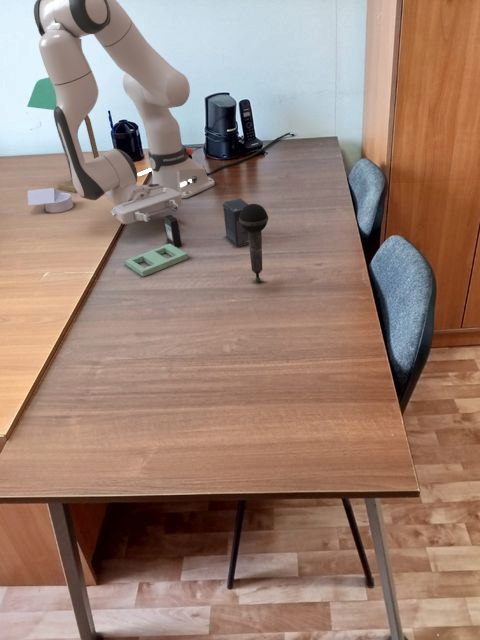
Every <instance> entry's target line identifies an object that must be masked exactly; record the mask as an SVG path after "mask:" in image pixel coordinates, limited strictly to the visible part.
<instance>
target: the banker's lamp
mask: <svg viewBox="0 0 480 640" xmlns="http://www.w3.org/2000/svg"><path fill="white" fill-rule="evenodd" d="M56 104H57V100H56V93H55V89H54V87H53V84H52V82H51V80H50V78H49V76H48V77H44V78H41V79H38V80H37V81H36V82H35V85H34V86H33V89H32V92H31V95H30V97H29V100H28V102H27V106H26V108H27V107H28V108H32V109H33V108H35V109H42V110H51V111H54V110H55V108H56ZM83 121H84V123H85V127H86V131H87V135H88V139H89V144H90V147H91V152H92V156H93V159H95V158H97V157H99V156H100V155H99V151H98V146H97V142H96V138H95V134H94V131H93V130H94V129H93V126H92V125H93V124H92V122H91V118H90V116H89V114H88V115H87V116H86V117H85V119H84V120H83ZM57 185H58V188H59V190H63V191H66V192H67V191H68V192H73V193H78V192H77V191H76V189H75V187H74V185H73V182H72V179H70V180H69V181H66V182H64V183H58V184H57Z"/></svg>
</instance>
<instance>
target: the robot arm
mask: <svg viewBox="0 0 480 640" xmlns="http://www.w3.org/2000/svg"><path fill="white" fill-rule="evenodd" d="M33 18H34V21H35V25H36V27H37V29H38V34H39V35H40V39H39V41H38V49H39V53H40V56H41V60H42V63H43V66H44V68H45V70H46V71H45V72H46V74H47V76H48V77H49V78H50V80H51V82H52V84H53V87H54V89H55V93H56V100H57V104H56V108H55V110H53V118H54V123H55V127H56V130H57V134H58V137H59V140H60V142H61V146H62V149H63V152H64V155H65V159H66V162H67V165H68V169H69V173H70V178H71V180H72V182H73V185H74V187H75V189H76V191H77V192H76V193H77V194H78V195H79V196H80V197H81V198H82V199H85V200H89V201H97V200H99V199H100V198H101V197H103V196H105V198H106V199H107V200H108V201H109V202H110V203H111V204H113V205H114V207H113V208H111V209H110V210H109V213H110V216H113V217H115V218H116V220H117V221H118V222H119V223H120V224H123V225H129V224H132V223H135V222H138V221H140V222H141V221H142V222H146V223H147V222H150V221H152V218H151V217H152V216H155V215H157V214H160V213H164V212H166V211H169V210H171V212H173V213H175V212H179V211H180V208H179V207H181V206H182V204H183V199H188V198H190V197H192V196H194V195H196V194H198V193H201V192H203V191H205V190H207V189H209V188H211V187H214V186H216V183H215V180H214V179H213V178H211V177H209V176H210V175H213V174H215V173H216V172H217V171H219V170H222V169H224V168H228V167H231V166H233V165H236V164H239V163H242V162H244V161H246V160H248V159H251V158H253V157H255V156H257V155H258V154H260V153H262V152H263V151H264V150H266V149H267V148H269V147H270V146H271V145H273V144H275V142H277V141H279V140H280V139H281V140H282V139H283V138H285V137H287V136H292V137H295V134H294V133H293V134H290V133H291V132H287V133H285V134H283V135H280V136H278V137H276V138H275V139H274V140H272V141H271V142H269V143H268V144H266V145H265V146H264V147H262V148H261V149H259V150H258V151H256V152H254V153H251V154H250V155H248V156H246V157H244V158H240V159H239V160H236V161H233V162H230V163H227V164H224V165H220V166H218V167H216V168H215V169H214V170H212V171H210V172H207V170H206V168H205V166H204V165H202V164H200V163H199V162H197V161H196V160H194V159H192V158H191V157H189V155H190V156H192V155H193V154H194V149H193V148H190V147H187V148H186V147H184V146H183V143H182V136H181V128H180V124H179V122H178V120H177V119H176V118H175V117H174V116H173V114H172V112H171V110H170V109H172V108H178V107H182V106H183V105H185V104H186V103H187V101H188V100H189V97H190V93H191V92H190V91H191V88H190V86H191V85H190V82H189V80H188V78H187V76H186V75H185V74H184V73H182V72H181V71H179V70H177V68H175V67H174V66H172V65H171V64H170V63H169V62H168V61H167V60H166V59H165V58H164V57H162V55H161V54H160V53H158V52H157V51H156V50H155V48H154V47H152V45H151V44H150V43H149V42H148V41H147V40H146V38H145V36H143V34H142V33H141V31H140V29H138V27H137V26H136V24H135V23H134V21H133V20H132V18H131V17H130V16H129V14H128V13H127V12H126V10H125V9H124V7H123V6H122V5H121V4H120V3H119V2H118V1H117V0H36V1H35V3H34V6H33ZM88 35H93V36H94V38H95V39H96V40H97V42H98V43H99V44H100V45H101V47H102V48H103V50H105V52H106V53H107V55H108V56H109V57H110V58H111V60H112V61H113V62H114V63H115V65H116V66H117V67H118V68H119V69H120V70H121V71H122V72H124V74H123V76H122V88H123V90H124V92H125V94H126V95H127V96H128V97H129V99H130V100H131V101H132V103H133V105H134V106H135V108H136V110H137V113H138V115H139V117H140V119H141V121H142V124H143V127H144V132H145V136H146V137H145V138H146V142H147V147H148V151H147V155H148V161H149V166H150V167H149V168H148V169H145V170H143V171H140V172H138V171H137V167H136V164H135V163H134V160H133V158H131V156H130V155H128V154H127V153H126V152H125V151H123V150H121V149H119V148H115V147H113V148H111V149H109V150H108V151H105V152H104V153H102V154H100V155H99V157H97V158H95V159H94V158H93V159H91V160H90V161H87V162H86V160H85V156H84V153H83V150H82V146H81V144H80V141H79V130H80V127H81V125H82V123H83V121H85V120H84V119H85V117H86V116H87V115H88V116H89V114H90V113H91V112H92V111H93V109H94V108H95V106H96V104H97V101H98V98H99V86H98V83H97V79H96V77H95V75H94V73H93V70H92V68H91V65H90V64H89V62H88V59H87V57H86V56H85V53H84V52H83V45H82V37H83V38H84V37H87V36H88ZM149 172H151V176H152V177H151V178H152V184H137V183H138V177H140V176H143V175H146V174H147V173H149Z"/></svg>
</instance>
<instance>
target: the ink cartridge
mask: <svg viewBox="0 0 480 640" xmlns="http://www.w3.org/2000/svg"><path fill="white" fill-rule="evenodd" d="M162 220H163V224H164V231H165V236H166V241H167V244H171V245H173V246H175V247H177V248H178V247H180V246H182V238H181V233H180V232H181V231H180V226H179V220H178V219H177V218H176V216H173V214H168V215H164V216H163V217H162Z"/></svg>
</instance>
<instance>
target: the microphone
mask: <svg viewBox="0 0 480 640" xmlns="http://www.w3.org/2000/svg"><path fill="white" fill-rule="evenodd" d="M268 221H269V215H268V213H267V211H266V209H265V207H264V206H262V205H260V204H258V203H249V204H248V205H247V206H245V207H244V208H243V209H242V211H241V213H240V216H239V222H240V224H241V226H242V227H243V229H245V230H246V231H247V232H248V240H249V244H248V248H249V256H250V257H249V258H250V265H251V271H252V272H253V273H254V274H255V279H254V281H255V282H256V283H260V282H261V278H260V274H261V273H262V271H263V243H262V242H263V241H262V237H263V235H262V232H263V230H264V229H265V228H266V227H267V225H268Z"/></svg>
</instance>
